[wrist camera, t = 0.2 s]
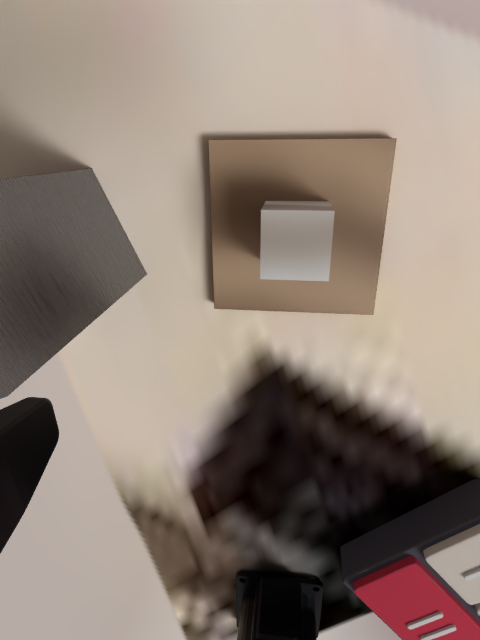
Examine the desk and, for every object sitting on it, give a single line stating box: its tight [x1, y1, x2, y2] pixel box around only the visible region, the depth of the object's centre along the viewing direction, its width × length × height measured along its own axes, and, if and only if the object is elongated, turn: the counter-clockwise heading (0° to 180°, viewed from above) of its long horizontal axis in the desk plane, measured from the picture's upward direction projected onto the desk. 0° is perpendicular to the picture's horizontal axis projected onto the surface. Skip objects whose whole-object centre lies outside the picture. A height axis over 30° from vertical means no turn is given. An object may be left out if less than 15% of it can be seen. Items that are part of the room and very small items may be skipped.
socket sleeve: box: [0, 168, 147, 399], centre depth 17 cm, size 6×6×12 cm
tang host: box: [209, 138, 397, 315], centre depth 19 cm, size 8×8×4 cm
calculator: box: [340, 479, 480, 640], centre depth 27 cm, size 11×4×15 cm
